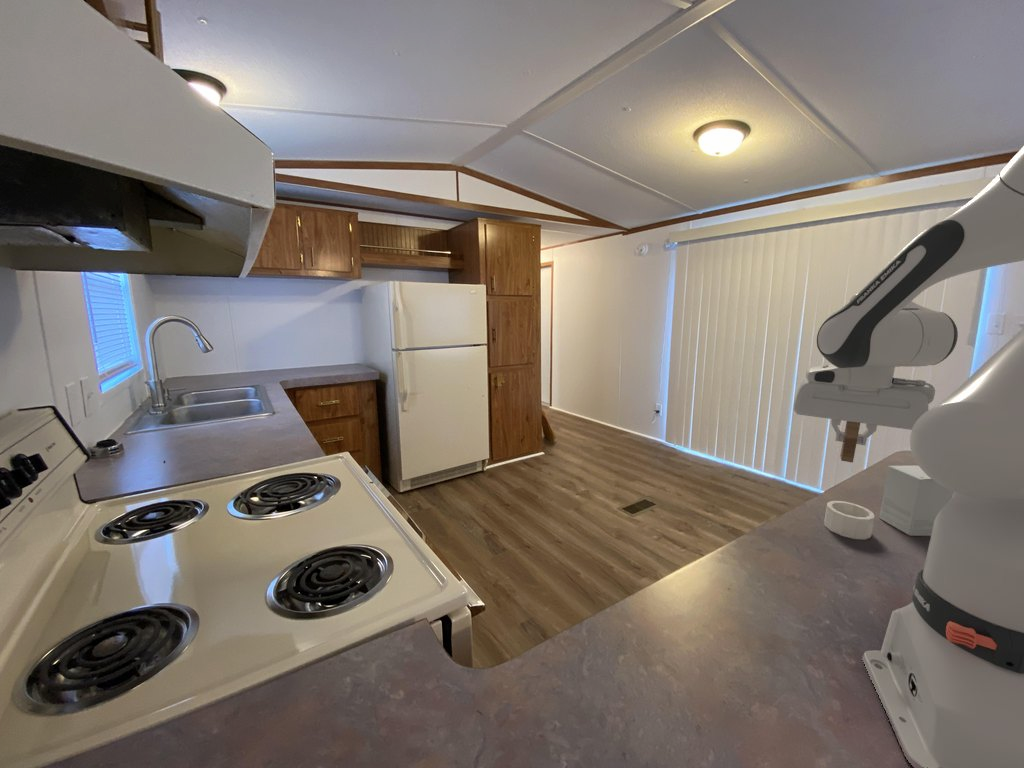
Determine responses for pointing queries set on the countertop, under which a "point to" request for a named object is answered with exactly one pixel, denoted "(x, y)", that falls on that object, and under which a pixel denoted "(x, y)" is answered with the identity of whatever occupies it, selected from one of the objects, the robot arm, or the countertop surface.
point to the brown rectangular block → (850, 441)
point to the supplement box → (912, 500)
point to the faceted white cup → (849, 520)
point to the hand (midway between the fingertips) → (849, 442)
